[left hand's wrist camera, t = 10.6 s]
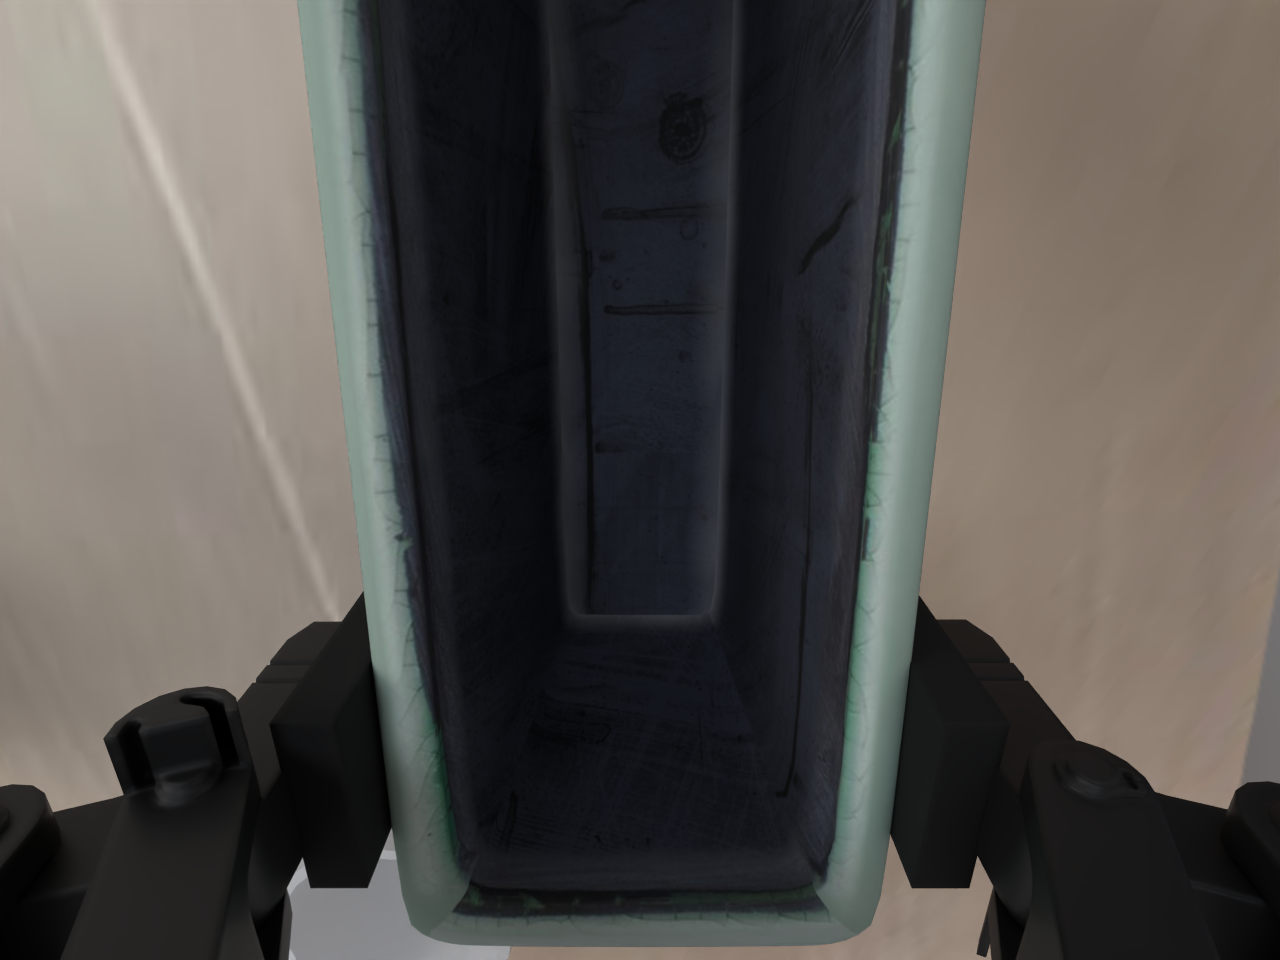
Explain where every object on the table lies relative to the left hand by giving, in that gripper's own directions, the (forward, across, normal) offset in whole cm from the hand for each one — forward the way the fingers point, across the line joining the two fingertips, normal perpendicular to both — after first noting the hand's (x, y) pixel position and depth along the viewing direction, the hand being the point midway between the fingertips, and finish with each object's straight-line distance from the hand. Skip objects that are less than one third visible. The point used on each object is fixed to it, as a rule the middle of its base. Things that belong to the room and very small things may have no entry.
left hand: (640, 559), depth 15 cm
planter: (+3, 0, -9) cm, 10 cm away
